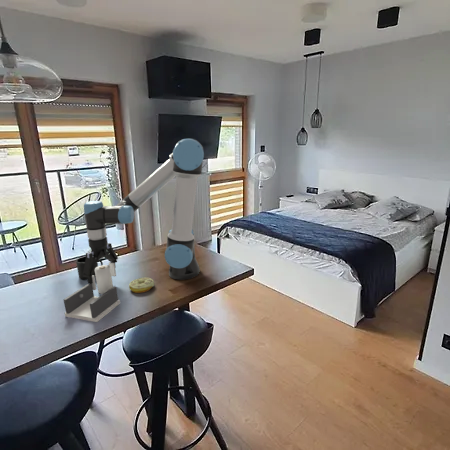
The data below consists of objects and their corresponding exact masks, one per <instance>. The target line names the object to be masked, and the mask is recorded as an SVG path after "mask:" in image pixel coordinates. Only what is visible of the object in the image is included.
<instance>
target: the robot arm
mask: <svg viewBox="0 0 450 450" xmlns="http://www.w3.org/2000/svg"><path fill="white" fill-rule="evenodd" d="M204 152H205V151H204V147H203V145H202V143H201V142H200V141H199V140H197V139H196V138H183V139H181V140H179V141H178V142H177V143H176V144H175V145H174V148H173V150H172V153H170V154H169V159H167V160H166V161H165V162H164V163H163V164H161V165H160V166H159V167H158V168H157V169H156V170H155V171H154V172H153V173H151V174H150V175H149V176H148V177H147V178H146V179H144V180H143V181H142V182H141V183H140V184H139V185H138V186H137V187H136V188H134V189H133V190H132V191H131V192H129V194H127V195H126V196H125V197H124V198H123V199H121V201H119V202H118V203H117V204H116V205H104V203H103V201H101V200H91V201H86V202H85V203H84V204H83V212H84V213H83V215H84V220H85V226H86V228H85V229H86V234H87V238H88V239H87V241H88V246H89V248H90V252H86V253H85V256H86V260H85V265H84V270H83V276H84V277H87V284H89V283H90V284H91V283H92V288H93V291H97V283H96V277H94V275H93V273H94V270H95V267H96V265H97V263H99V262H98V261H99V260H101V259H102V258H105V259H106V260H108V261H109V262H108V265H109V266H110V270H111V276H112V277H117V272H116V263H118V259H119V256H117V254H116V252H115V251H114V247H113V246H112V243H110V242H109V241H108V237H107V235H108V234H107V233H108V232H107V228H106V227H107V226H106V225H114V224H115V225H117V224H118V225H121V224H122V225H125V224H132V223H133V222H134V218H135V212H136V211H137V210H139V208H140V207H142V206H143V205H144V204H145V203H146V202H147V201H149V200H150V199H151V198H152V197H153V196H155V195H156V194H157V193H159V192H160V191H161V190H162V188H164V187H165V186H166V185H167V184H169V183H170V182H171V181H172V180H173V179H175V188H174V195H173V196H174V199H173V209H172V222H171V229H170V230H168V233H167V235H166V248H165V250H164V261H165V262H166V263H167V264H168V265H169V269H168V276H169V277H170V278H171V279H173V280H177V281H181V280H183V281H185V280H191V279H194V278H195V276H196V277H197V276H199V275H200V273H201V270H200V265H199V263H198V259H197V258H196V251H195V249H196V248H195V233H194V230H193V221H194V211H195V203H196V193H197V184H198V183H197V182H198V178H199V177H200V176H201V175H202V172H203V163H204V158H205V157H204V156H205V153H204ZM94 258H96V259H94ZM199 272H200V273H199ZM198 274H199V275H198ZM193 277H194V278H193Z"/></svg>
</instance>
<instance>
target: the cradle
mask: <svg viewBox="0 0 450 450" xmlns="http://www.w3.org/2000/svg"><path fill="white" fill-rule="evenodd" d="M62 301H63V303H64V309H65V312H64V316H65V317H67V318H71V319H77V320H84V321H88V322H94V323H98V322H99V321H101V320H102V319H103V318H104V317H106V315H108V314H109V313H111V312H112V311H113V310H114V309H115V308H116V307H118V306H119V305H120V304H121V299H119V296H118V290H117V286H114V285H113V287H112V288H111V289H109V290H108V291H106V292H105V293H104V294H101V295H100V296H95V294H94V290H93V288H92V283H91V284H90V283H87V284H86V285H84V286H83V287H81V288H79V289H78V290H76V291H74V292H73V293H71V294H69V295H68V296H67V297H65V298H64V299H63V300H62Z"/></svg>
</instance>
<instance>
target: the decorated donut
mask: <svg viewBox="0 0 450 450" xmlns="http://www.w3.org/2000/svg"><path fill="white" fill-rule="evenodd" d="M154 286H155V281H154V280H153V279H152V278H150V277H148V276H147V277H138V278H137V279H133V280H131V281H130V282H129V284H128V288H129V290H130V291H131V292H133V293H136V294H142V293H146V292H149V291H150V290H151V289H153V287H154Z"/></svg>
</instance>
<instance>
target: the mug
mask: <svg viewBox="0 0 450 450" xmlns="http://www.w3.org/2000/svg"><path fill="white" fill-rule="evenodd" d="M94 259H96V258H94ZM85 260H86V255H85V256H81V257H79V258H77V259H76V260H75V263H76V264H75V265H76V269H77V275H78V278H79V279H80V280H82V281H83V280H84V281H86V280H87V277H84V276H83V270H84V265H85ZM99 262H100V266H101V265H104V264H103V261H102V260H101V259H99V261H98V262H97V265H96V267H98V266H99V264H98V263H99ZM96 267H95V268H96ZM93 275H94V277H95V278H96V275H95V270H94V273H93ZM87 281H88V280H87Z"/></svg>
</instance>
